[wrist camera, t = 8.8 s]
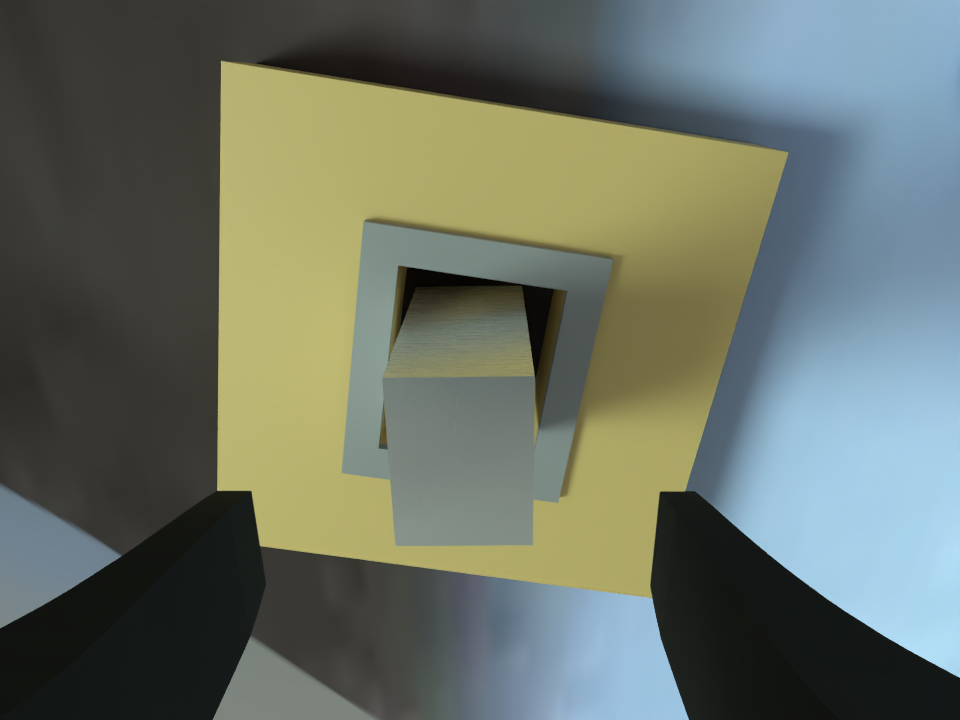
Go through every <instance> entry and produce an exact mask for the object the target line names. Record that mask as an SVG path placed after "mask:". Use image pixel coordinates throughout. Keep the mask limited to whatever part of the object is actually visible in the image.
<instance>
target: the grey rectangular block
mask: <svg viewBox="0 0 960 720" xmlns="http://www.w3.org/2000/svg"><path fill="white" fill-rule="evenodd" d="M382 381H383V394H384V407H385V420H386V433H387V445H388V458H389V471H390V484H391V497H392V509H393V522H394V535H395V546H499V545H533V492H534V403H535V374H534V367H533V360H532V353H531V346H530V339H529V332H528V325H527V318H526V311H525V303H524V296H523V289H522V286H507V285H476V286H435V287H416V289H415V292H414V294H413V297H412V300H411V302H410V305H409V308H408V310H407V313H406V316H405V318H404V321H403V324H402V326H401V329H400V332H399V334H398V337H397V340H396V342H395V345H394V348H393V350H392V353H391V356H390V358H389V361H388V364H387V366H386V369H385V372H384V374H383V377H382Z"/></svg>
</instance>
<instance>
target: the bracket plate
mask: <svg viewBox="0 0 960 720" xmlns="http://www.w3.org/2000/svg"><path fill="white" fill-rule="evenodd" d="M788 153H789V152H785V151H781V150H777V149H773V148H769V147H765V146H760V145H756V144H752V143H745V142H739V141H733V140H727V139H720V138H714V137H708V136H702V135H696V134H689V133H683V132H677V131H671V130H665V129H658V128H652V127H646V126H640V125H633V124H627V123H621V122H615V121H609V120H602V119H596V118H590V117H584V116H578V115H571V114H565V113H559V112H553V111H546V110H540V109H534V108H528V107H522V106H515V105H509V104H503V103H497V102H491V101H484V100H478V99H472V98H466V97H459V96H453V95H447V94H441V93H435V92H428V91H422V90H416V89H410V88H404V87H397V86H391V85H385V84H379V83H373V82H366V81H360V80H354V79H348V78H341V77H335V76H329V75H323V74H317V73H310V72H304V71H298V70H292V69H286V68H279V67H273V66H267V65H261V64H254V63H241V62H227V61H221V149H220V261H219V373H218V485H217V491H252V498H253V504H254V511H255V517H256V523H257V530H258V536H259V543H260V546H265V547H272V548H280V549H287V550H295V551H302V552H310V553H317V554H325V555H332V556H340V557H347V558H355V559H363V560H370V561H378V562H385V563H393V564H400V565H408V566H415V567H423V568H430V569H438V570H445V571H453V572H460V573H468V574H475V575H483V576H490V577H498V578H505V579H513V580H520V581H528V582H536V583H543V584H551V585H558V586H566V587H573V588H581V589H588V590H596V591H603V592H611V593H618V594H626V595H633V596H641V597H648V598H652V593H651V588H650V582H651V572H652V562H653V552H654V543H655V533H656V523H657V513H658V504H659V494H660V491H685V490H686V487H687V483H688V480H689V477H690V474H691V470H692V467H693V464H694V461H695V457H696V454H697V451H698V447H699V444H700V441H701V438H702V434H703V431H704V428H705V425H706V421H707V418H708V415H709V412H710V408H711V405H712V402H713V398H714V395H715V392H716V389H717V385H718V382H719V379H720V376H721V372H722V369H723V366H724V362H725V359H726V356H727V353H728V349H729V346H730V343H731V340H732V336H733V333H734V330H735V327H736V323H737V320H738V317H739V313H740V310H741V307H742V304H743V300H744V297H745V294H746V291H747V287H748V284H749V281H750V278H751V274H752V271H753V268H754V264H755V261H756V258H757V255H758V251H759V248H760V245H761V242H762V238H763V235H764V232H765V229H766V225H767V222H768V219H769V215H770V212H771V209H772V206H773V202H774V199H775V196H776V193H777V189H778V186H779V183H780V179H781V176H782V173H783V170H784V166H785V163H786V160H787V157H788ZM407 267H412V268H418V269H425V270H432V271H438V272H445V273H452V274H458V275H465V276H471V277H478V278H485V279H491V280H498V281H505V282H511V283H518V284H525V285H531V286H538V287H545V288H551V289H554V290H553V295H552V300H551V305H550V310H549V315H548V320H547V325H546V330H545V335H544V340H543V345H542V350H541V355H540V361H539V366H538V371H537V376H536V381H535V403H534V492H533V545H499V546H395V535H394V522H393V509H392V497H391V484H390V471H389V458H388V445H387V433H386V420H385V407H384V394H383V381H382V377H383V374H384V372H385V369H386V366H387V364H388V361H389V358H390V356H391V353H392V350H393V348H394V345H395V342H396V340H397V337H398V334H399V332H400V326H401V317H402V309H403V300H404V291H405V282H406V273H407Z"/></svg>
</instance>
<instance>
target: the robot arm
mask: <svg viewBox="0 0 960 720" xmlns="http://www.w3.org/2000/svg"><path fill="white" fill-rule="evenodd" d="M265 586H266V581H265V575H264V569H263V562H262V556H261V549H260V543H259V536H258V530H257V523H256V517H255V511H254V504H253V498H252V491H216V492H215V493H213V494H211V495H210V496H208V497H206V498H205V499H203V500H202V501H200V502H199V503H197V504H196V505H195V506H193V507H192V508H190V509H189V510H187V511H186V512H185V513H183V514H182V515H180V516H179V517H177V518H176V519H175V520H173V521H172V522H170V523H169V524H168V525H166V526H165V527H163V528H162V529H160V530H159V531H158V532H156V533H155V534H153V535H152V536H150V537H149V538H148V539H146V540H145V541H143V542H142V543H140V544H139V545H138V546H136V547H135V548H133V549H132V550H130V551H129V552H127V553H126V554H125V555H123V556H121V557H120V558H118V559H117V560H116V561H114V562H112V563H111V564H109V565H108V566H106V567H104V568H103V569H101V570H100V571H98V572H97V573H95V574H94V575H92V576H91V577H89V578H88V579H86V580H84V581H83V582H81V583H79V584H78V585H76V586H75V587H73V588H72V589H70V590H68V591H67V592H65V593H63V594H62V595H60V596H58V597H57V598H55V599H53V600H51V601H50V602H48V603H46V604H44V605H43V606H41V607H39V608H37V609H36V610H34V611H32V612H30V613H28V614H26V615H25V616H23V617H21V618H19V619H17V620H15V621H13V622H11V623H10V624H8V625H6V626H4V627H2V628H0V720H213V718H214V715H215V713H216V711H217V709H218V707H219V705H220V702H221V700H222V698H223V696H224V694H225V691H226V689H227V687H228V685H229V683H230V681H231V678H232V676H233V674H234V672H235V670H236V667H237V665H238V663H239V661H240V658H241V656H242V654H243V651H244V650H245V647H246V645H247V643H248V640H249V638H250V636H251V632H252V629H253V626H254V623H255V620H256V617H257V614H258V610H259V607H260V603H261V600H262V596H263V593H264V589H265ZM650 588H651V593H652V598H653V603H654V608H655V613H656V618H657V622H658V627H659V631H660V636H661V640H662V643H663V646H664V649H665V652H666V655H667V658H668V661H669V664H670V667H671V670H672V672H673V675H674V678H675V681H676V684H677V687H678V690H679V693H680V695H681V698H682V701H683V704H684V707H685V710H686V713H687V715H688V718H689V720H960V678H959V677H957V676H955V675H953V674H951V673H949V672H948V671H946V670H944V669H942V668H940V667H938V666H936V665H935V664H933V663H931V662H929V661H927V660H925V659H924V658H922V657H920V656H918V655H916V654H914V653H912V652H911V651H909V650H907V649H905V648H904V647H902V646H900V645H898V644H897V643H895V642H893V641H891V640H890V639H888V638H886V637H885V636H883V635H881V634H880V633H878V632H877V631H875V630H874V629H872V628H870V627H869V626H867V625H866V624H864V623H862V622H861V621H859V620H858V619H856V618H855V617H853V616H851V615H850V614H848V613H847V612H845V611H844V610H842V609H841V608H839V607H838V606H836V605H835V604H833V603H832V602H830V601H829V600H828V599H826V598H825V597H823V596H822V595H821V594H819V593H818V592H817V591H815V590H814V589H813V588H811V587H810V586H808V585H807V584H806V583H804V582H803V581H802V580H800V579H799V578H798V577H796V576H795V575H794V574H792V573H791V572H790V571H789V570H787V569H786V568H785V567H783V566H782V565H781V564H780V563H778V562H777V561H776V560H775V559H773V558H772V557H771V556H770V555H768V554H767V553H766V552H765V551H764V550H762V549H761V548H760V547H759V546H758V545H756V544H755V543H754V542H753V541H752V540H751V539H749V538H748V537H747V536H746V535H745V534H744V533H742V532H741V531H740V530H739V529H738V528H737V527H735V526H734V525H733V524H732V523H731V522H730V521H729V520H727V519H726V518H725V517H724V516H723V515H722V514H721V513H720V512H718V511H717V510H716V509H715V508H714V507H713V506H712V505H710V504H709V503H708V502H707V501H706V500H705V499H703V498H702V497H701V496H700V495H699V494H697V493H696V492H695V491H660V494H659V504H658V513H657V523H656V533H655V543H654V552H653V562H652V572H651V582H650Z"/></svg>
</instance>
